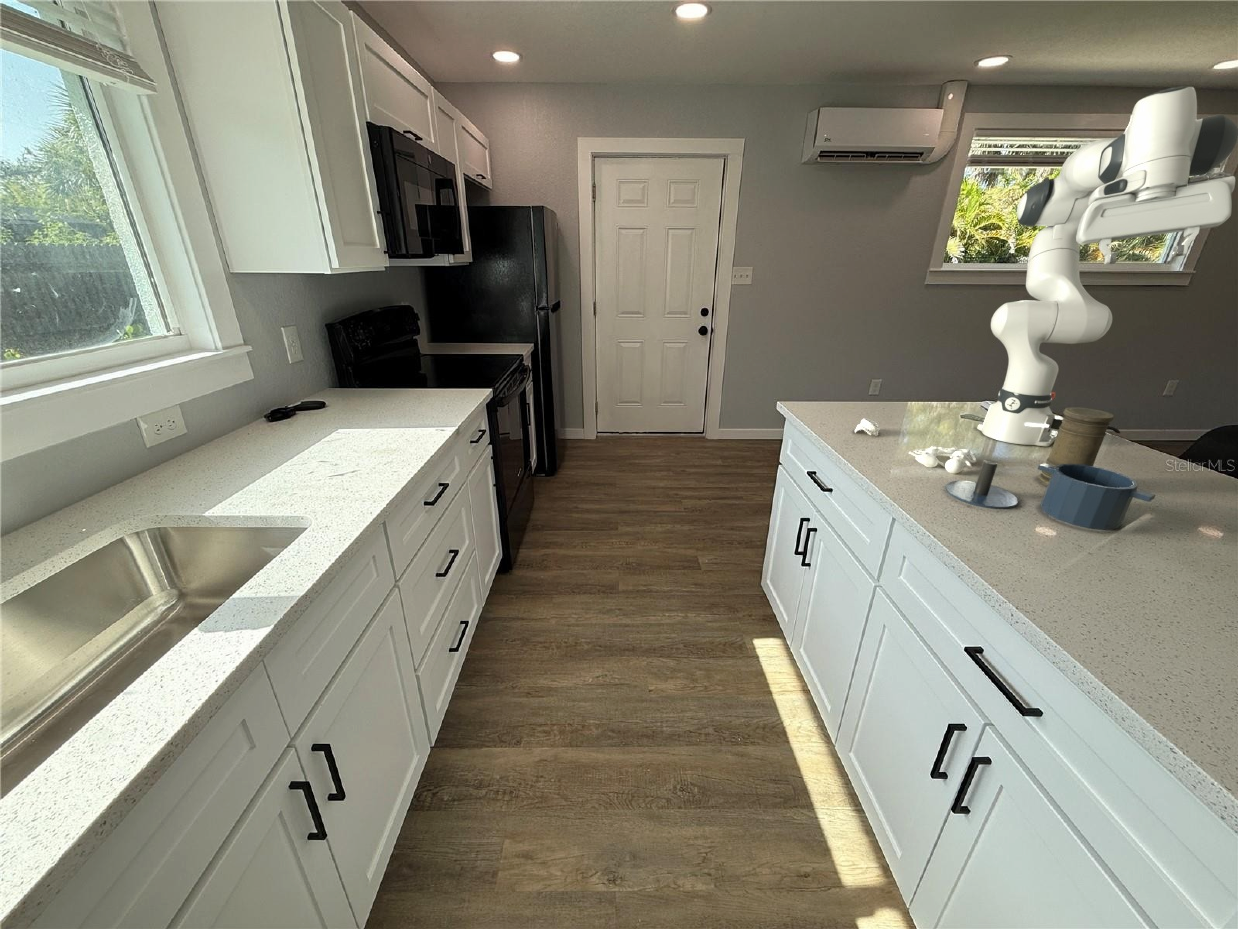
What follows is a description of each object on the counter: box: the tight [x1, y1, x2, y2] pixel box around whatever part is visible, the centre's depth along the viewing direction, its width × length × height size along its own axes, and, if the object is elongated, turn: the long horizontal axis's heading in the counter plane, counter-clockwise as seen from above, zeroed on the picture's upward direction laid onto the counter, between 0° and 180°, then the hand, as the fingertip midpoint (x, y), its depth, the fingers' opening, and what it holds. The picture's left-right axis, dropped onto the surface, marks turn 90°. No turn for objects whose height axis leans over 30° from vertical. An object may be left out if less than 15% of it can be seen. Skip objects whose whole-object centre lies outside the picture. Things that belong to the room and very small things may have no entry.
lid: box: [945, 459, 1019, 510], centre depth 109 cm, size 13×13×9 cm
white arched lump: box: [854, 417, 880, 436], centre depth 151 cm, size 8×7×5 cm
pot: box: [1037, 462, 1156, 531], centre depth 100 cm, size 12×18×10 cm
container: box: [1037, 407, 1115, 485], centre depth 113 cm, size 9×9×18 cm
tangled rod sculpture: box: [908, 445, 977, 475], centre depth 129 cm, size 19×14×4 cm
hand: (1143, 259), depth 95 cm, fingers open, 8 cm apart
